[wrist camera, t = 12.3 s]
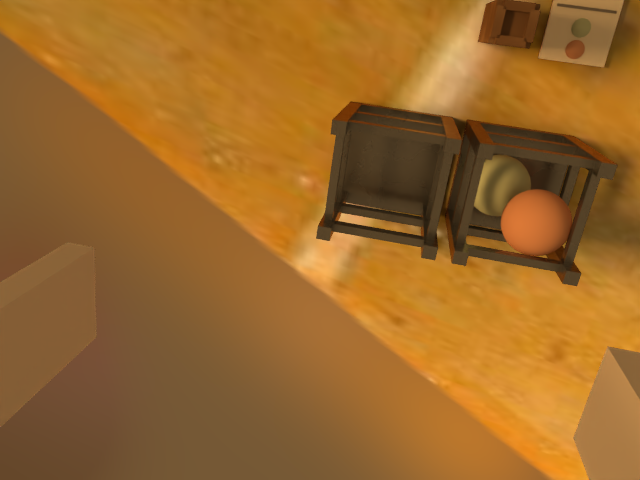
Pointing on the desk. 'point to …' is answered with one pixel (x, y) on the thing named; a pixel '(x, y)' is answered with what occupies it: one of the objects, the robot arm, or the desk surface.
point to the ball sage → (500, 184)
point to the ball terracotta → (536, 222)
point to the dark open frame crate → (545, 173)
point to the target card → (580, 31)
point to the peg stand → (509, 23)
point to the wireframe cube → (389, 172)
